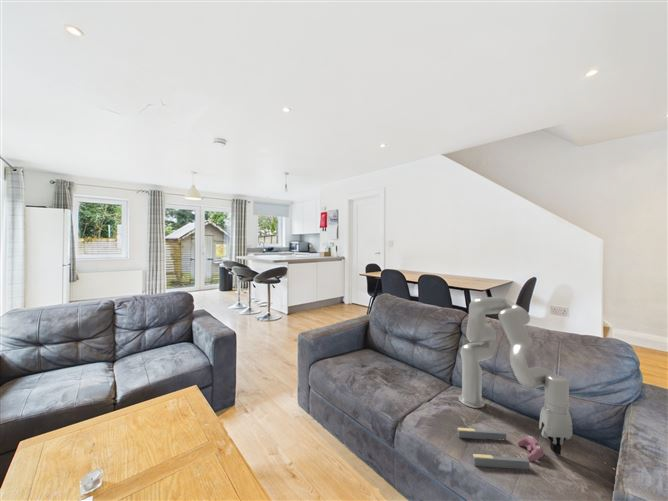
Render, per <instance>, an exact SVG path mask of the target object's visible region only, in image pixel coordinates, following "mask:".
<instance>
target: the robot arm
mask: <svg viewBox="0 0 668 501" xmlns="http://www.w3.org/2000/svg"><path fill="white" fill-rule="evenodd" d="M495 314H498V316H497V317H498V321H499V323H500V325H501V327H502V330H503V331H504V334H505V336H506V337H507V340H508V342H509V344H510V349H509V363H510V366H511V369H512V371H513V374H514V375H515V378H516V379H517V381H518V382H519V384H520V385H521V386H522V387H524V388H526V389H529V390H532V389H536V388H537V389H538V388H540V387H541V388H542V387H543V388H544V406H542V407H541V409H540V413H539V421H538V423H539V424H538V428H539V430H540V431H541V433H540V435H541V437H543V438H544V439H547V440H549V441H550V451H551V452H553V454H555V455H557V456H561V454H562V453H561V451H562V446H563V445H564V442H565V441H568V440H571V439H572V436H573V423H572V422H573V421H572V417H571V413H570V411H569V409H572V406H571V405H570V403H569V401H570V382H569V380H568V379H567V378H566V377H564V376H563V375H559V374H555V373H554V372H552V371H550V370H549V369H547V368H545V367H542V366H534V367H529V366H528V363H527V360H526V355H527V354H526V352H527V350H528V348H529V347H530V345H531V344H532V338H531V336H530V335H529V333H528V331H527V329H526V326H525V325H528V324H529V322H530V321H531V317H530V313H529V312H527V310H526V309H525V308H524V307H522V306H520V305H519V304H516V303H514V302H512V301H511V300H509V299H507V298H505V297H501V296H487V297H486V296H485V297H478V298H474V299H473V300H471V301H470V302H469V306H468V319H467V325H466V331H465V332H466V333H465V336H466V340H467V341H469V342H470V343H466V344H463V345H462V346H461V348H460V357H461V364H462V365H461V369H462V370H461V371H462V372H461V373H462V374H461V375H462V376H461V394H459V395H458V400H459V402H461V404H463V405H464V406H467V407H470V408H474V409H481V408H485V405H486V404H485V400H484V399H483V398H482V397H483V396H482V388H483V387H482V386H483V383H482V382H483V379H482V378H483V372H482V367H481V365H480V362H481V361H487V360H490V359H492V357H493V355H494V352H495V346H496V341H497V340H496V338H497V333H496V329H495V328H494V327H493V326H492V324H489V323H487V317H486V315H495Z"/></svg>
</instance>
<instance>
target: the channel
mask: <svg viewBox="0 0 668 501" xmlns="http://www.w3.org/2000/svg"><path fill="white" fill-rule="evenodd" d="M457 437H458V438H459V439H472V440H473V439H474V440H487V439H502V440H501V441H503V439H504V440H506V441H507V433H506V431H503V430H487V429H475V428H469V427H457ZM530 462H531V461H529V460H528V458H525V457H522V458H521V457H510V456H495V455H494V456H493V455H492V454H481V453H478V454H477V453H473V454H472V464H473V465H474V466H475V467H488V468H489V467H490V468H502V469H505V468H506V469H515V470H517V469H518V470H528V469H529V470H530Z"/></svg>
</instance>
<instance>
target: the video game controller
mask: <svg viewBox="0 0 668 501" xmlns="http://www.w3.org/2000/svg"><path fill="white" fill-rule="evenodd" d="M517 445H518V446H519V447H526V446H527V447H526V449H527V451H529V452H530V453H529V454H528V455H527V459H528V460H530V461H529V462H535V461H537V460H539V459H540V458H543V456H544V453H545V451H544V448H542V445H541V443H540V442H539V441H538V440H537V439H536V438H534V437H533V436H530V435H527V436H525V437H523V438H521V439H519V440H518V441H517Z"/></svg>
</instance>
